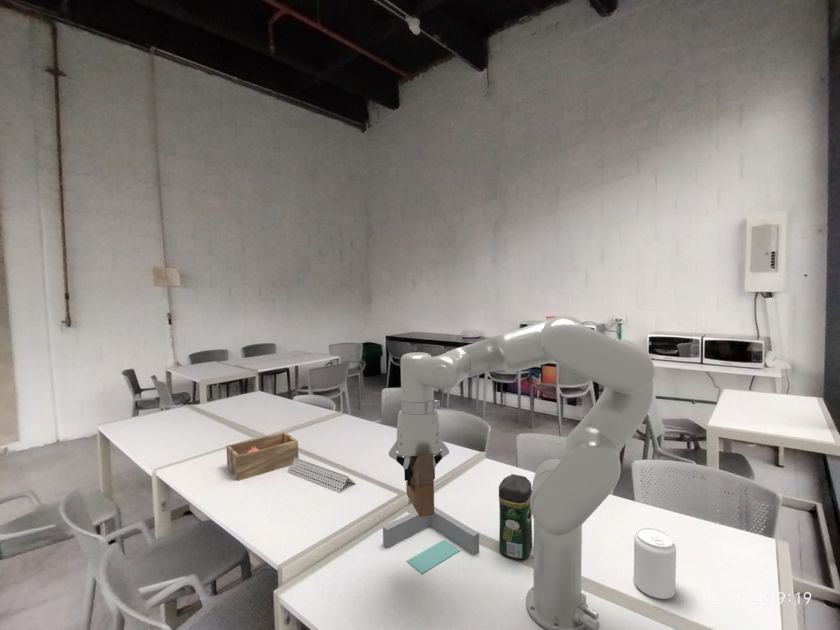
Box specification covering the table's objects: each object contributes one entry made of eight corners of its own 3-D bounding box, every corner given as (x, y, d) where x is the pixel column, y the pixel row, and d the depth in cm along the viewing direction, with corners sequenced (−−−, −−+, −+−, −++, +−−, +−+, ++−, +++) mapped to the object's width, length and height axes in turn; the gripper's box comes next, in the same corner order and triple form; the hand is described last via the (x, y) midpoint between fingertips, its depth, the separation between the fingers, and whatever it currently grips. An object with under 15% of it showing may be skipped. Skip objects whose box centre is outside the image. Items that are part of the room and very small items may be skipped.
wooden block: (419, 518, 89) (417, 438, 87) (406, 495, 99) (404, 423, 98) (435, 514, 90) (433, 436, 89) (420, 492, 100) (418, 421, 99)
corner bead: (357, 485, 142) (357, 471, 142) (338, 495, 135) (338, 481, 135) (304, 465, 159) (304, 453, 159) (285, 474, 152) (284, 461, 152)
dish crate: (298, 462, 160) (297, 440, 160) (238, 480, 146) (237, 456, 145) (285, 452, 171) (284, 431, 171) (227, 468, 156) (226, 445, 156)
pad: (460, 550, 104) (459, 550, 104) (422, 574, 96) (422, 573, 96) (444, 540, 109) (444, 539, 109) (406, 561, 100) (406, 560, 100)
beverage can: (660, 574, 95) (661, 525, 94) (683, 600, 86) (685, 547, 86) (626, 575, 94) (627, 526, 94) (647, 602, 86) (648, 548, 85)
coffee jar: (505, 534, 111) (505, 469, 110) (534, 542, 107) (534, 475, 106) (495, 555, 102) (494, 484, 101) (526, 564, 99) (526, 491, 98)
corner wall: (479, 551, 104) (478, 533, 104) (430, 583, 93) (429, 562, 93) (430, 520, 118) (430, 504, 118) (383, 544, 107) (382, 526, 107)
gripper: (451, 400, 97) (453, 473, 98) (382, 403, 96) (384, 477, 97) (456, 409, 90) (457, 488, 91) (380, 412, 89) (383, 492, 90)
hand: (419, 481), depth 94 cm, fingers closed on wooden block, 4 cm apart
